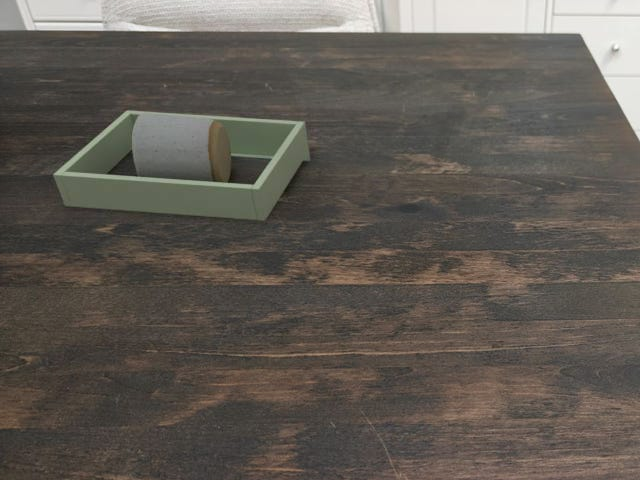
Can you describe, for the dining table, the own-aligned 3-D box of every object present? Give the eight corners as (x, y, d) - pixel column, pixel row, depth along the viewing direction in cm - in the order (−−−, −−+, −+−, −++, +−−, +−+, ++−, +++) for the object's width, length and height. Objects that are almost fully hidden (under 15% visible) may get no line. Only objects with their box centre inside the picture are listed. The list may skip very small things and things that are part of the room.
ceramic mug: (225, 202, 76) (209, 130, 72) (144, 203, 76) (122, 131, 71) (243, 157, 85) (230, 90, 80) (169, 158, 84) (151, 90, 79)
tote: (69, 217, 75) (52, 174, 72) (138, 150, 87) (126, 110, 84) (267, 232, 74) (258, 189, 71) (310, 161, 86) (305, 121, 82)
